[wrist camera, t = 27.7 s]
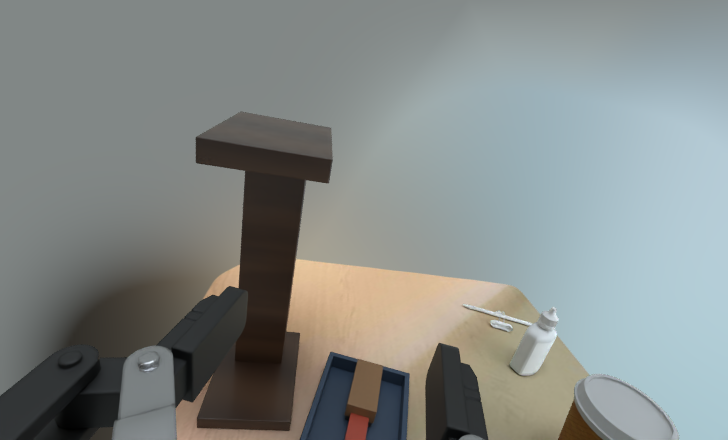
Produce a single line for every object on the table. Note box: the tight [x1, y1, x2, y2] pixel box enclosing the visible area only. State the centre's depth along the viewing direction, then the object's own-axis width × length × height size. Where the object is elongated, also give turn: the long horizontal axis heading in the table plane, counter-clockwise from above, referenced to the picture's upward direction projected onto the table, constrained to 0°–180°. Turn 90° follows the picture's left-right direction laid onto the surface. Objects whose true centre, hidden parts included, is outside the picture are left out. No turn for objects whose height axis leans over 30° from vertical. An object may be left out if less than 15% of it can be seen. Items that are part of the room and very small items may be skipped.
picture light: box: [463, 304, 532, 331], centre depth 65 cm, size 14×4×2 cm, turn 77°
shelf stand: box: [196, 112, 333, 430], centre depth 38 cm, size 14×10×32 cm
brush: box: [344, 359, 383, 440], centre depth 38 cm, size 17×4×3 cm, turn 171°
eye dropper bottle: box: [510, 307, 559, 376], centre depth 53 cm, size 4×6×12 cm
